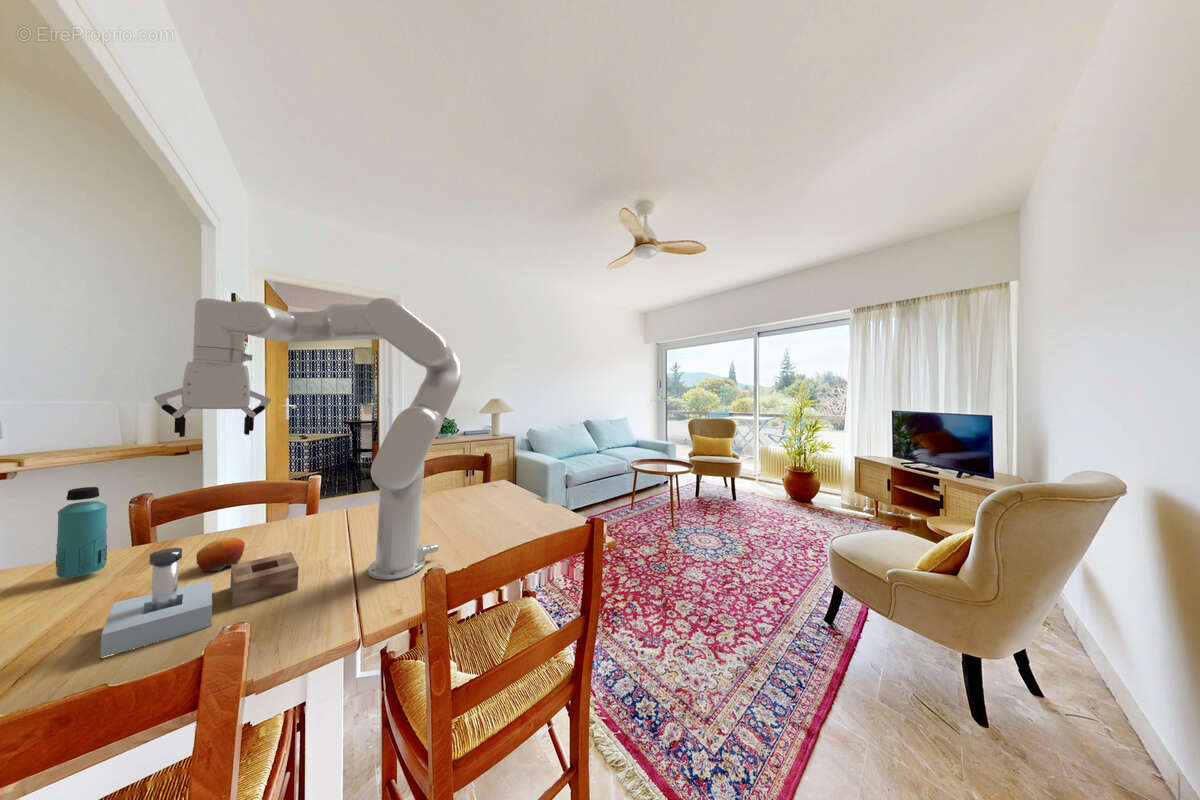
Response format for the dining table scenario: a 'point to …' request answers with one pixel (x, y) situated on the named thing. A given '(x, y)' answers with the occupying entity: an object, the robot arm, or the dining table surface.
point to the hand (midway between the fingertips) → (215, 435)
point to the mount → (263, 578)
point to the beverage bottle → (81, 535)
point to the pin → (164, 578)
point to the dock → (156, 619)
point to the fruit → (220, 554)
